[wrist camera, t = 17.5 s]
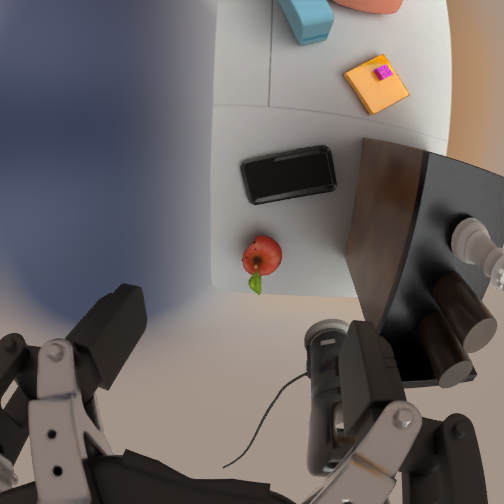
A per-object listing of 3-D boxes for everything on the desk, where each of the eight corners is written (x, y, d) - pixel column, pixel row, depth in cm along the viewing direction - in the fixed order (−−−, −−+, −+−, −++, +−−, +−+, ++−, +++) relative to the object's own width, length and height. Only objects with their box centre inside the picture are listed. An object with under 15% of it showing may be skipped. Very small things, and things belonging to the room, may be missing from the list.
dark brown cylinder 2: (425, 342, 27) (445, 392, 20) (411, 327, 27) (432, 380, 20) (450, 322, 26) (476, 370, 19) (438, 305, 25) (467, 355, 18)
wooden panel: (405, 263, 49) (453, 342, 28) (344, 256, 50) (371, 342, 30) (429, 152, 39) (512, 180, 19) (363, 137, 41) (423, 150, 20)
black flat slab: (453, 342, 28) (472, 381, 22) (371, 342, 30) (382, 389, 23) (512, 180, 19) (554, 200, 12) (423, 150, 20) (465, 162, 14)
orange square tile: (405, 96, 36) (415, 93, 32) (370, 115, 39) (377, 114, 35) (379, 56, 34) (387, 50, 30) (343, 75, 37) (348, 70, 33)
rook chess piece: (443, 254, 23) (483, 300, 16) (456, 212, 21) (504, 247, 14) (473, 259, 22) (513, 302, 15) (486, 220, 20) (532, 254, 13)
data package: (326, 42, 34) (336, 17, 24) (300, 48, 36) (302, 23, 25) (299, -11, 30) (299, -45, 19) (274, -6, 31) (268, -39, 20)
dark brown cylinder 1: (441, 309, 25) (469, 359, 18) (426, 289, 25) (457, 340, 17) (466, 286, 24) (500, 331, 16) (453, 264, 23) (491, 310, 16)
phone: (337, 190, 44) (250, 206, 47) (336, 189, 45) (251, 204, 48) (329, 144, 41) (238, 161, 44) (328, 143, 42) (239, 160, 45)
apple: (240, 234, 51) (229, 259, 42) (275, 223, 49) (271, 247, 41) (255, 270, 54) (247, 300, 45) (289, 260, 52) (288, 290, 43)
